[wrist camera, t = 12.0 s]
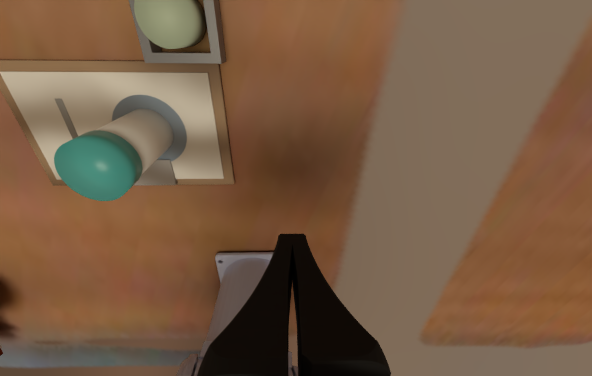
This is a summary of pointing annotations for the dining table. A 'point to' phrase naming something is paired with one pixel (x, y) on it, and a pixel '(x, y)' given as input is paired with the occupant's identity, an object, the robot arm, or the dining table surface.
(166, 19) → the button
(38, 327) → the dining table surface
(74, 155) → the marker
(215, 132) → the clipboard
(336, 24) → the dining table surface
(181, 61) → the button housing
